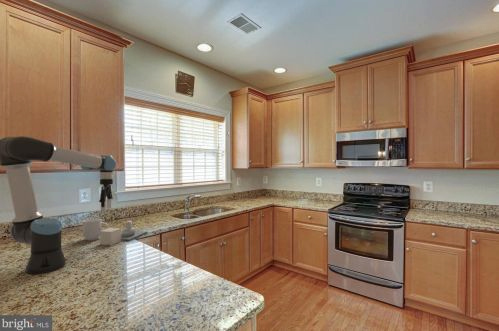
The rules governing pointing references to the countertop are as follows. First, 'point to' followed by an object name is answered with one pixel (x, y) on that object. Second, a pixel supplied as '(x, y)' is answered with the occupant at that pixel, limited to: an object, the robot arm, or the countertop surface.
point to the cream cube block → (110, 236)
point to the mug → (92, 228)
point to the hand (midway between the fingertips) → (106, 210)
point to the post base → (137, 234)
